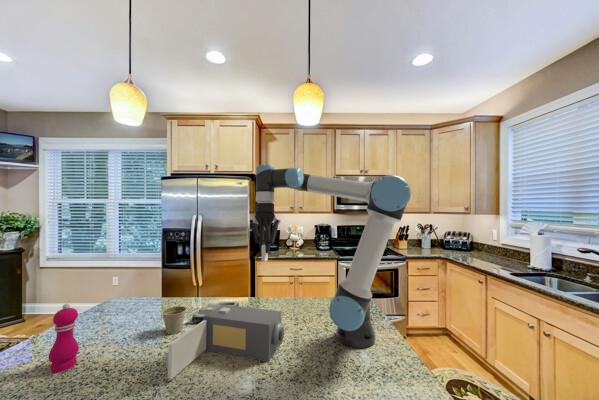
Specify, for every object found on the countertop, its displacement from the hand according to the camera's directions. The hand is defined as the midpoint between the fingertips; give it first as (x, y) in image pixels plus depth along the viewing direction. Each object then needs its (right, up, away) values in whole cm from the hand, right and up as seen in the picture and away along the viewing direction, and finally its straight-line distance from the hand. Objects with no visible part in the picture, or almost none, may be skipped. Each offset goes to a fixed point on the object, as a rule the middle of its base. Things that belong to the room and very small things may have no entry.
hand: (264, 260), depth 101 cm
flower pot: (-39, -31, +4) cm, 50 cm away
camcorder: (-24, -32, +20) cm, 45 cm away
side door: (-23, -28, -19) cm, 41 cm away
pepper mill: (-63, -30, -20) cm, 72 cm away
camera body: (-6, -30, -8) cm, 32 cm away
